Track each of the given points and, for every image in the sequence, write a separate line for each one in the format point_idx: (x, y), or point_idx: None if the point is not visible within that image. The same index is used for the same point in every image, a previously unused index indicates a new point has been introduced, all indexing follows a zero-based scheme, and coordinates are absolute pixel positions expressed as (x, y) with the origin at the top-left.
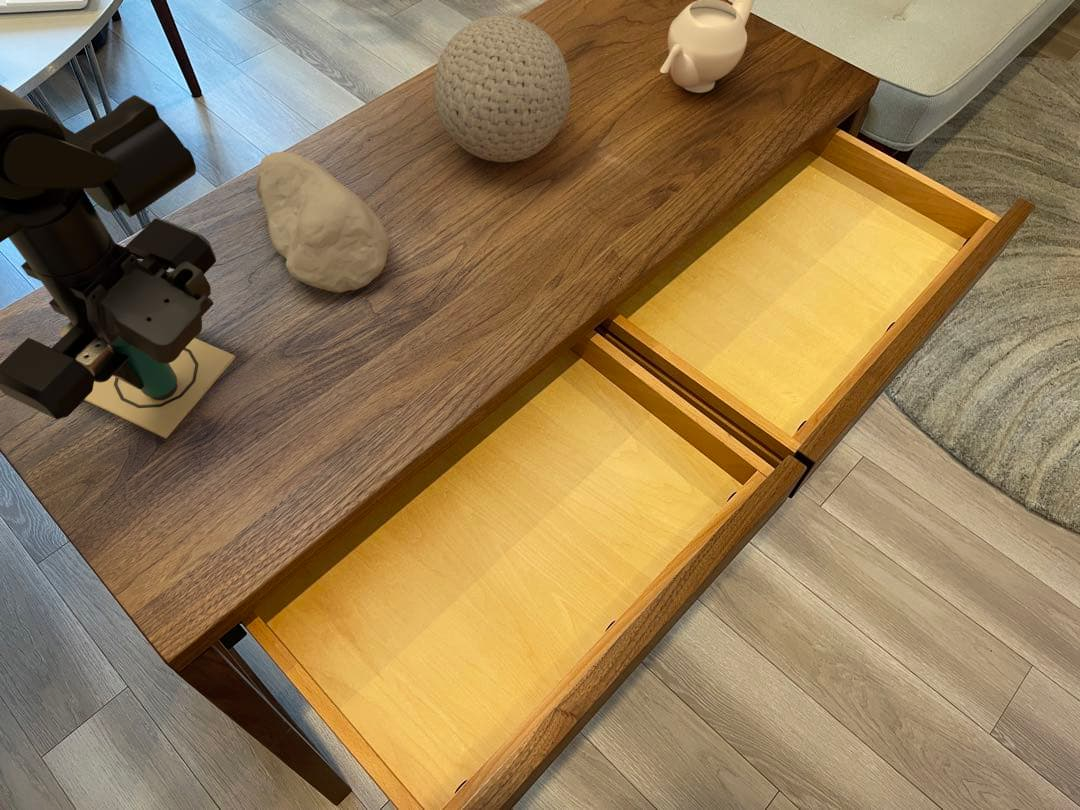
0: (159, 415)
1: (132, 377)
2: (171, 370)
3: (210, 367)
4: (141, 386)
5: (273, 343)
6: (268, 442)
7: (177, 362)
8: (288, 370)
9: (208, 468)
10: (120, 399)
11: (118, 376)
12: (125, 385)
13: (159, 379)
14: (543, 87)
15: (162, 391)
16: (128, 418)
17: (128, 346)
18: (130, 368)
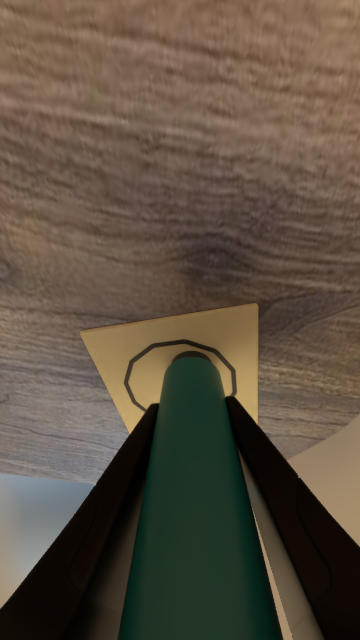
0: (229, 339)
1: (260, 451)
2: (167, 384)
3: (120, 344)
4: (232, 401)
5: (18, 304)
6: (147, 102)
7: (148, 381)
8: (17, 236)
9: (274, 178)
10: (236, 393)
11: (348, 535)
12: None
13: (199, 389)
14: None
15: (204, 365)
16: (256, 367)
17: None
18: (270, 502)
